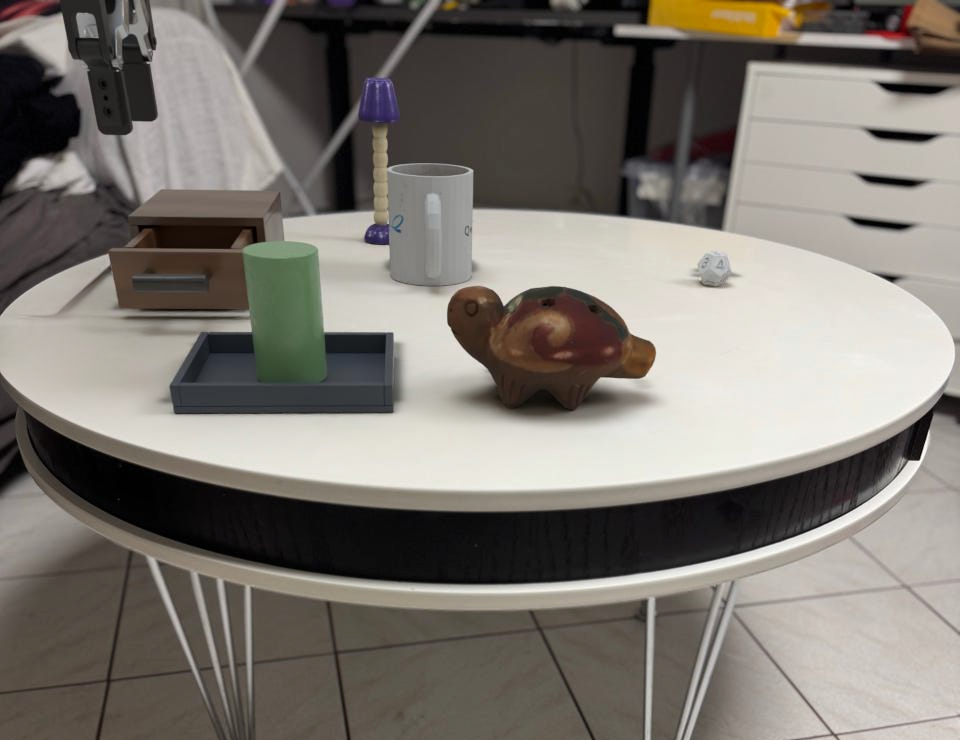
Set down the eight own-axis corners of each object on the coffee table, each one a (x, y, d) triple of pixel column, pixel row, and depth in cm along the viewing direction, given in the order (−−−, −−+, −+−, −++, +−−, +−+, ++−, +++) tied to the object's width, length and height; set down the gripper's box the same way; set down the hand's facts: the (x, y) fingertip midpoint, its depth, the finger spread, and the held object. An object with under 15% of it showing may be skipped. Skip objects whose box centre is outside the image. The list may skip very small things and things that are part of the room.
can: (253, 388, 66) (236, 257, 61) (261, 364, 70) (247, 240, 65) (325, 388, 66) (314, 258, 61) (329, 364, 71) (320, 241, 65)
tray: (174, 413, 63) (169, 385, 62) (204, 356, 73) (201, 331, 72) (393, 412, 64) (392, 384, 63) (394, 356, 74) (393, 332, 73)
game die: (722, 279, 98) (727, 249, 96) (734, 288, 94) (739, 257, 93) (690, 279, 97) (695, 249, 95) (701, 288, 94) (706, 257, 92)
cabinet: (271, 289, 90) (263, 217, 86) (141, 289, 89) (127, 215, 85) (286, 255, 102) (280, 190, 98) (171, 254, 101) (160, 189, 97)
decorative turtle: (435, 377, 70) (442, 267, 66) (623, 385, 73) (641, 280, 68) (449, 418, 62) (458, 296, 58) (660, 426, 64) (683, 309, 60)
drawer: (243, 323, 78) (235, 263, 75) (106, 322, 77) (94, 262, 74) (267, 271, 92) (262, 220, 89) (153, 271, 91) (143, 219, 88)
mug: (398, 263, 100) (395, 161, 94) (476, 267, 99) (478, 165, 93) (375, 292, 90) (370, 180, 84) (461, 297, 89) (462, 185, 83)
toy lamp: (410, 240, 109) (407, 78, 100) (386, 247, 106) (381, 80, 96) (379, 235, 111) (373, 75, 102) (354, 241, 108) (346, 77, 99)
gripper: (52, -161, 62) (103, 115, 71) (-29, -197, 50) (45, 139, 60) (164, -156, 62) (200, 118, 72) (110, -191, 51) (162, 141, 60)
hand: (130, 127), depth 66 cm, fingers open, 7 cm apart
